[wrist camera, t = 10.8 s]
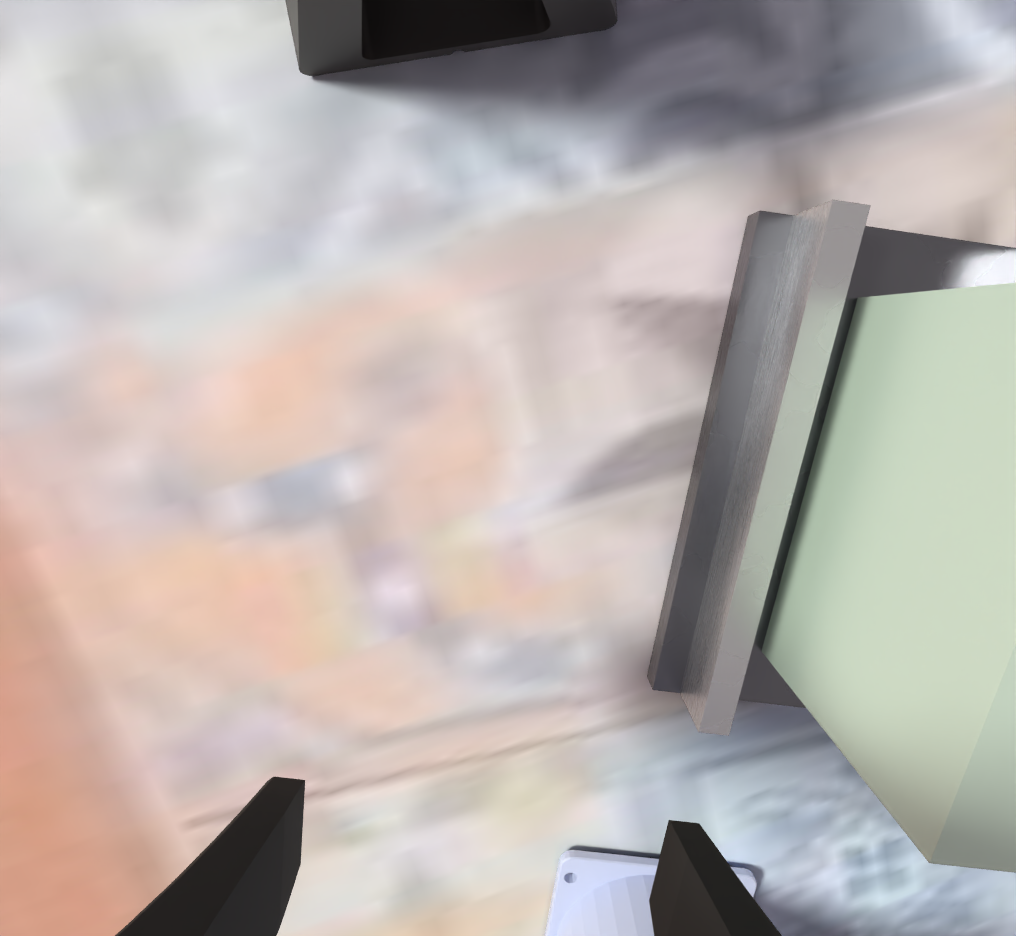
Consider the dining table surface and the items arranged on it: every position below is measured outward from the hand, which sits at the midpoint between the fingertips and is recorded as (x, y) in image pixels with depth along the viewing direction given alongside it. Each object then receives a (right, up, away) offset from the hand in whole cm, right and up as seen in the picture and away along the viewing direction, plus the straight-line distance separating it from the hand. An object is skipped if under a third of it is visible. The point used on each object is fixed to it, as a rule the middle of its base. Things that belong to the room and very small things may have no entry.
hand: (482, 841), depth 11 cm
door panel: (+12, +6, +7) cm, 15 cm away
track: (+12, +7, +8) cm, 16 cm away
